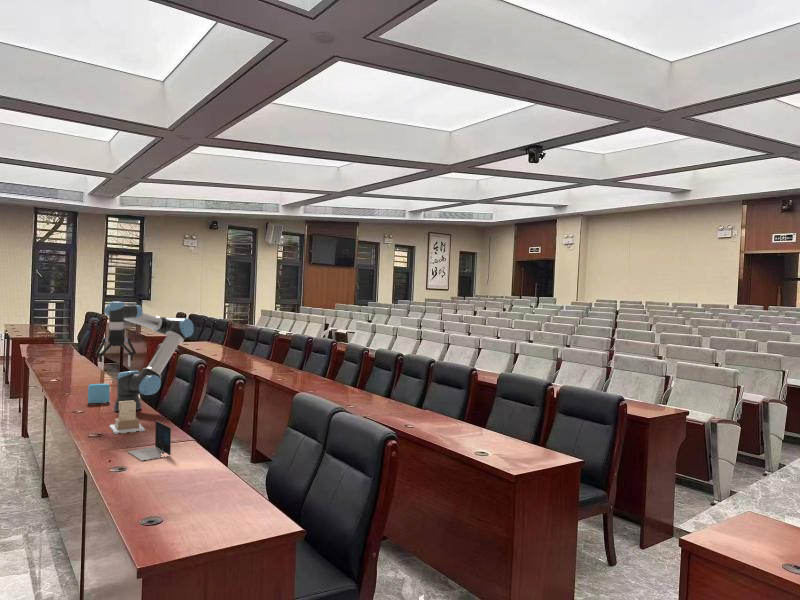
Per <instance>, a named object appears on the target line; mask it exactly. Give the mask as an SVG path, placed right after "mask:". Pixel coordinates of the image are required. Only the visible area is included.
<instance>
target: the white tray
mask: <svg viewBox="0 0 800 600" xmlns="http://www.w3.org/2000/svg"><path fill="white" fill-rule="evenodd" d="M109 428H110V430H111V431H112V430H113V431H112V432H113V433H114V435H119V434H118V433H121V434H127V432H130V433H137V432H136V431H139V432H145V431H146V429H145V428H144V427H143V426H142V424H141V423H140V419H139V418H138V417H137V416H136V420H129V421H120V420H119V417H117V418H114V424H109Z"/></svg>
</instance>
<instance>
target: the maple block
mask: <svg viewBox="0 0 800 600" xmlns="http://www.w3.org/2000/svg"><path fill="white" fill-rule="evenodd" d="M136 417H137V411H136V402H135V401H134V400H131V401H119V412H118V418H119V420H120V421H129V420H136Z"/></svg>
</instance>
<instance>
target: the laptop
mask: <svg viewBox="0 0 800 600" xmlns="http://www.w3.org/2000/svg"><path fill="white" fill-rule="evenodd" d="M154 443H155V444H154V445H155V446H152V447H146V448H141V449H133V450H129V451H127V453H129V454H130V455H132V456H134V457H135V458H136V459H138V460H140V461H141V462H145V461H144V460H146V461H151V460H150V459H152V460H156V459H155V458H159V459H161V458H160V457H161V456H162V455H161V453H162V454H164V453H167V454H168V455H170V456H171V453H172V450H171V449H172V447H171V445H172V427H170V426H168V425H166V424H165V423H162V422H161V421H158V420H155V442H154ZM164 457H165V456H164ZM165 458H166V457H165Z"/></svg>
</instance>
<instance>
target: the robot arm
mask: <svg viewBox="0 0 800 600" xmlns="http://www.w3.org/2000/svg"><path fill="white" fill-rule="evenodd" d="M143 311H144V309H143V307H142V306H141V305H139V304H125V302H124V301H110V302H109V304H107V305H106V306H105V307H104V314H105V316H107V317H108V338H105V337H103V338H102V340H101V344H100V345H99V346H98V348H97V350H96V352H95V356H98V357H99V359H98V360H99V361H98V362H99V363H101V369H104V367H105V365H104V362H105V357H104V354H106V352H107V351H108V350H110V348H111V347H112V346H113V347H120V346H121V347H122V348H123V349H124V351H126V352H127V353H128V356H127V367H128V368H130V367H131V361H133V356H134V355H136V354H137V352H136V350H135V348H134V346H133V343H132V342H131V338H130V337H126V338H125V336H124V335H125V330H124V328H125V321H126V322H129V323H133V324H136V325H139V326H143V327H145V328H149V329H151V331H153V332H156V333H159V334H162V335H165V336H166V337H165V338H164V340H163V342H162V343H161V345H160V346H159V348H158V350H157V351H156V353H155V354H154V355H153V357H152V358H151V361H150V362H149V363H148V365H147V367H144V368H142V370H141V371H139V370H128V371H123V372H122V371H121V372H118V374H117V378H116V381H117V383H116V384H117V386H116V387H117V388H116V389H117V392H116V393H117V394H116V395H117V396H116V397H117V398H116V400H115V403H114V406H113V412H116V411H119V401H131V400H134V401H135V402H136V410H138V411H140V410H139V409H141V408H142V407H143V405H142V402H141V400H140V396H139V395H144V396H149V395H150V396H151V395H155V394H156V393H157V392H158V391H159V390H160V388H161V385H162V384H161V383H162V380H161V379H162V375H161V374H162V372H163V370H164V369H165V368H166V366H167V364H168V362H169V361H170V359H171V357H172V356H173V354H174V353H175V351H176V350H177V348H178V346H179V344H181V343H183V342H184V341H185V340H186V338H191V336H192V335H193V334H194V329H195V328H194V323H193V321H192V320H191V319H189V318H185V317H162V316H158V315H156V316H154V315H150V314H148V313H144V312H143ZM107 342H108V343H107ZM124 342H127V344H128V346H126V344H124ZM106 343H107V346H106V347H105V348H104V346H105V344H106ZM128 347H129V348H128ZM103 348H104V349H103ZM102 349H103V350H102ZM130 349H131V350H130ZM142 409H143V408H142ZM142 409H141V410H142Z"/></svg>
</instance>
